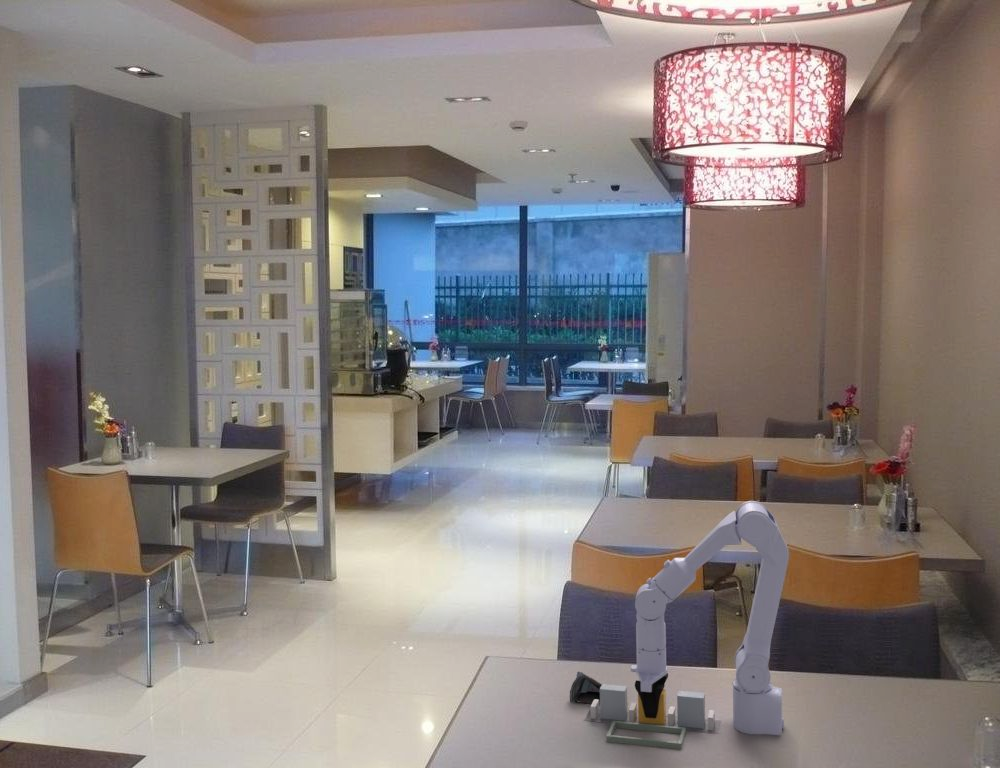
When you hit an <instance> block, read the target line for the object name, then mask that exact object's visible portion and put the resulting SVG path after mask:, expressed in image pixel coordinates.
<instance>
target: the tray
mask: <svg viewBox="0 0 1000 768" xmlns="http://www.w3.org/2000/svg"><path fill="white" fill-rule="evenodd" d="M616 728H617V729H618V728H619V729H629V730H635V731H636V730H640V731H648V732H649V731H650V732H655V733H656V732H658V733H667V734H668V733H669V734H678V735H679V734H680V735H679V736H680V737H679V739H678V741H673V740H663V739H654V738H653V739H652V738H644V737H636V736H635V737H633V736H622V735H616V734H615V735H614V732H615V730H616ZM686 734H687V731H686V728H683V727H673V726H663V725H653V724H642V723H632V722H622V721H613V722H612V723H610V726H609V730H608V731H607V733H606V736H605V737H606V739H605V740H606V741H605V742H609V743H610V742H611V743H620V744H627V745H636V746H637V745H639V746H649V747H658V748H667V749H676V750H677V749H678V750H682V748H683V745H684V742H685V737H686V736H687V735H686Z"/></svg>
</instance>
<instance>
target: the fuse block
mask: <svg viewBox="0 0 1000 768" xmlns="http://www.w3.org/2000/svg"><path fill="white" fill-rule="evenodd" d="M715 718H716V712H715V710H714V709H709V711H708V714H707V718H705V726H704V728H694V727H684V726H678V717H677V716H676V706H672V705H670V706H669V709H668V711H667V715H666V720H665V723H664V725H663V724H653V723H643V722H638V702H631V704H630V706H629V708H628V716H627V718H626V720H625V721H622V720H612V719H602V718H600V699H594V698H593V701H592V704H590V708H589V711H588V712H587V714H586V716H585V718H584V719H583V721H584V722H595V723H602V724H603V723H605V724H612V722H613V721H622V722H632V723H642V724H653V725H663V726H673V727H683V728H686V732H692V733H693V732H695V733H704V734H705V733H706V734H713V735H714V734H716V735H719V734H720V729H721V723H722V720H717V719H715Z"/></svg>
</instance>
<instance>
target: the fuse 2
mask: <svg viewBox="0 0 1000 768" xmlns="http://www.w3.org/2000/svg"><path fill="white" fill-rule="evenodd" d="M676 696H677V697H676V702H677V704H676V705H677V707H676V708H677V709H676V710H677V713H676V715H677V717H678V726H684V727H694V728H704V726H705V719H706V693H705V692H697V691H686V690H684V691H683V690H678V692H677V695H676Z"/></svg>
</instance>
